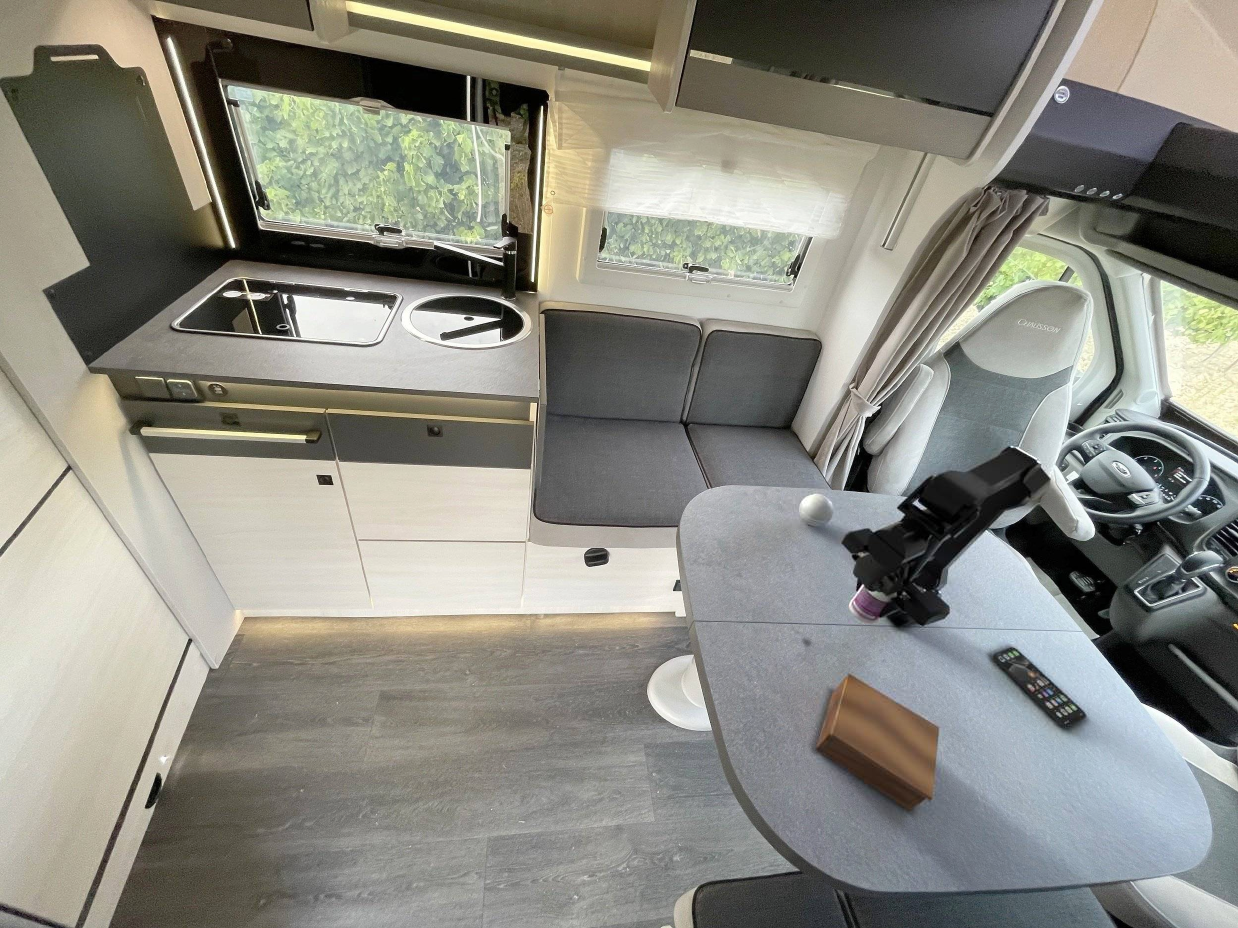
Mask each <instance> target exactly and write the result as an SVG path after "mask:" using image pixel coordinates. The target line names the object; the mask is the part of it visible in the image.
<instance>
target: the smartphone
mask: <svg viewBox="0 0 1238 928" xmlns="http://www.w3.org/2000/svg"><path fill="white" fill-rule="evenodd" d="M991 658H992V660H993V661H994V662H995V663H996V664H997V665H998V666H999V667H1000V668H1001V669H1002V670H1003V671H1005V673H1006V674H1007V675H1008V676H1010V678H1011V679H1012V680H1013V681H1015V683H1017V685H1018V686H1020V687H1021V688H1022V689H1023V690H1024V692H1025V693H1026V694H1028V696H1030V697H1031V699H1033V700H1034V701H1035V703H1037V704H1038V705H1039V706H1040V707H1041V708H1042V709H1043V710H1044V711H1045V712H1046V713H1047V714H1048V715H1049V716H1050V718H1052V719H1053V720H1054V721H1055V722H1056V723H1057V724H1058V725H1060V726H1061V727H1062V728H1064V729H1065V728H1070V727H1071V726H1073V725H1075V724H1076V723H1079V722H1081V721H1082V720H1084V719H1086V718H1087V714H1086V713H1085V711H1084V710H1083V709H1082V708H1081V707H1080V706H1079V705H1077V704H1076V703H1075V702H1074V701H1073V700H1072V699H1071V698H1070V697H1069V696H1068V695H1067V694H1066V693H1065V692H1064V691H1063V690H1061V689H1060V688H1059V687H1058V686H1057V685H1056V684H1055V683H1054V682H1053V680H1051V679H1050V678H1049V677H1047V675H1046V674H1044V672H1042V671H1041V670H1040V669H1039V668H1038V667H1037V666H1036V665H1034V664H1033V662H1031V661H1030V660H1029V659H1028V658H1027V657H1026V656H1025V655H1024V654H1023V653H1022V652H1021V651H1020V650H1019V649H1017V648H1016V647H1014V646H1013V647H1012V646H1011V647H1008V648H1005V649H1003V650H1000V651H998V652H995V653H994V654H993V655H992V656H991Z"/></svg>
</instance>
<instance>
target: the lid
mask: <svg viewBox="0 0 1238 928" xmlns="http://www.w3.org/2000/svg"><path fill="white" fill-rule="evenodd" d="M846 676H847V677H846ZM846 676H845V677H846V680H845V684H844V688H843V691H842V695H841V698H840V702H839V705H838V709H837V713H836V716H835V720H834V723H833V727H832V730H831V734H830V737H832V738H833V739H835V740H836V741H838V742H840V743H841V744H843V745H844V746H846V747H847V748H849V749H850V750H852V751H853V752H855V753H857V754H858V755H860V756H861V757H863V758H864V759H866V760H867V761H869V762H870V763H872V764H873V765H875V766H877V767H878V768H880V769H881V770H883V771H884V772H886V773H887V774H889V775H890V776H892V777H894V778H895V779H897V780H898V781H900V782H901V783H903V784H904V785H906V786H907V787H909V788H911V789H912V790H914V791H915V792H917V793H918V794H920V795H921V796H923V797H924V798H926V799H925V800H927V801H929V802H931V801H932V800H933V799H934V789H935V788H934V787H935V777H936V769H937V768H936V767H937V758H938V757H937V755H938V745H939V735H940V727H939V726H938V725H936V724H935V723H933V722H932V721H930V720H928V719H927V718H925V717H923V716H921V715H920V714H918V713H916V712H915V711H913V710H911V709H910V708H908V707H906V706H904V705H903V704H901V703H900V702H898V701H896V700H895V699H893V698H891V697H890V696H888V695H886V694H884V693H883V692H881V691H880V690H878V689H876V688H875V687H873V686H871V685H869V684H868V683H866V682H864V681H863V680H861V679H859V678H858V677H856V676H854V675H852V674H850V673H848V674H847V675H846Z"/></svg>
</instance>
